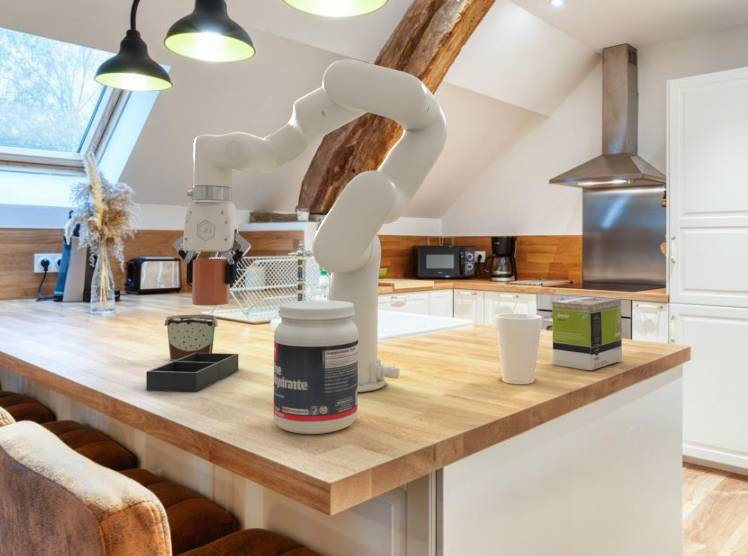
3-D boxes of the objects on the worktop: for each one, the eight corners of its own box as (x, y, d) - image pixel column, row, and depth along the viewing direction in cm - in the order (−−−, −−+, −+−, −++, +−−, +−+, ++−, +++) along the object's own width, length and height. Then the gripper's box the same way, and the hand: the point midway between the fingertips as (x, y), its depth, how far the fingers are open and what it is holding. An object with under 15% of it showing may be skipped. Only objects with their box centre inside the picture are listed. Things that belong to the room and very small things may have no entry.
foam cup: (488, 383, 122) (489, 317, 122) (500, 373, 130) (501, 312, 130) (536, 387, 118) (537, 320, 118) (545, 378, 127) (546, 314, 127)
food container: (226, 356, 146) (226, 314, 146) (215, 361, 140) (215, 318, 140) (177, 355, 148) (177, 313, 148) (164, 360, 142) (164, 316, 142)
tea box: (584, 356, 151) (584, 295, 151) (623, 362, 144) (623, 298, 144) (550, 364, 140) (551, 299, 140) (591, 371, 133) (591, 303, 133)
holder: (195, 368, 133) (195, 352, 133) (238, 370, 132) (238, 353, 132) (146, 390, 114) (146, 371, 114) (196, 392, 113) (196, 373, 113)
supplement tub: (255, 425, 93) (256, 304, 93) (319, 407, 103) (320, 298, 103) (311, 443, 85) (312, 311, 85) (375, 422, 95) (376, 303, 95)
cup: (235, 302, 129) (235, 259, 129) (220, 305, 122) (220, 260, 122) (202, 301, 130) (202, 258, 129) (185, 304, 122) (186, 259, 122)
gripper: (162, 194, 123) (161, 283, 123) (246, 195, 121) (245, 285, 121) (181, 197, 130) (180, 281, 130) (260, 198, 128) (259, 283, 128)
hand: (211, 282), depth 126 cm, fingers closed on cup, 7 cm apart
